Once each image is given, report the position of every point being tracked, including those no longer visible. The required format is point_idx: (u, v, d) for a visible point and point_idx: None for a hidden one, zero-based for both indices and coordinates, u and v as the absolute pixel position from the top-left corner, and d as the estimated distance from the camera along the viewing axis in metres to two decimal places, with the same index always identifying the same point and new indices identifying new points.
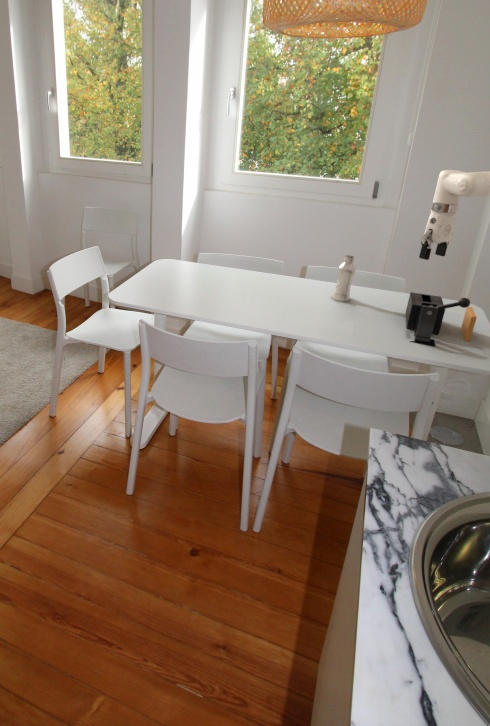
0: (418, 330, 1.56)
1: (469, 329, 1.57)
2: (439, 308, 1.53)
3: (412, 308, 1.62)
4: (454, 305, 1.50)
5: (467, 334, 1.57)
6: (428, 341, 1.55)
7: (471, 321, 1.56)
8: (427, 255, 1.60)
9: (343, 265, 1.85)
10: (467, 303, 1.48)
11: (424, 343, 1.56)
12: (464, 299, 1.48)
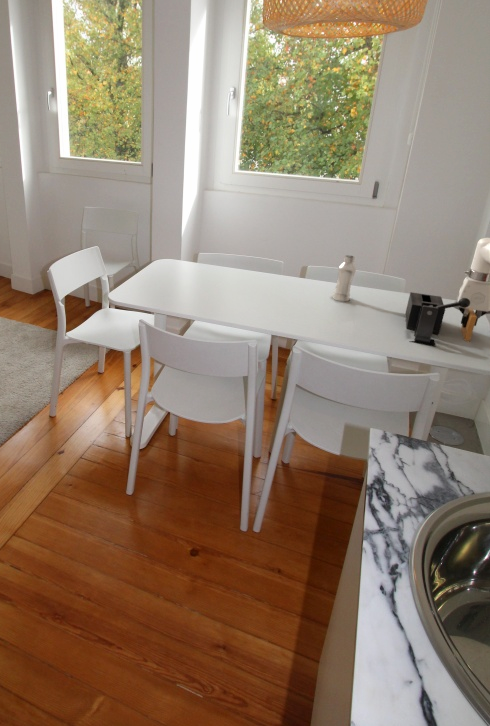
0: (418, 330, 1.56)
1: (469, 329, 1.57)
2: (439, 308, 1.53)
3: (412, 308, 1.62)
4: (454, 305, 1.50)
5: (467, 334, 1.57)
6: (428, 341, 1.55)
7: (471, 321, 1.56)
8: (464, 322, 1.60)
9: (343, 265, 1.85)
10: (467, 303, 1.48)
11: (424, 343, 1.56)
12: (464, 299, 1.48)
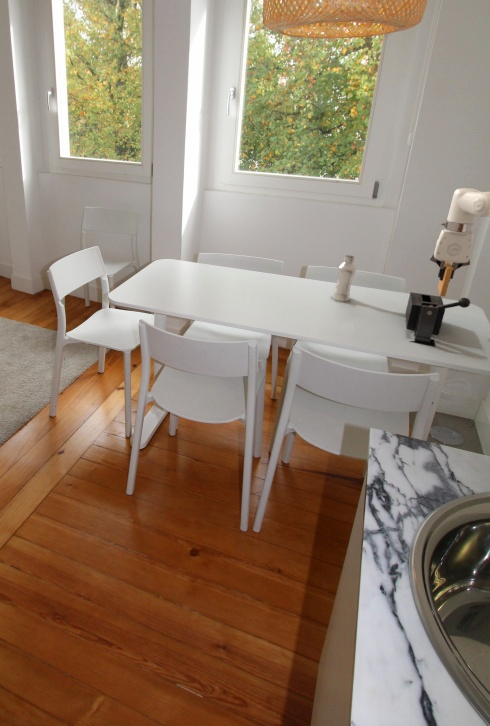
0: (418, 330, 1.56)
1: (445, 281, 1.56)
2: (439, 308, 1.53)
3: (412, 308, 1.62)
4: (454, 305, 1.50)
5: (443, 286, 1.57)
6: (428, 341, 1.55)
7: (447, 273, 1.55)
8: (441, 275, 1.60)
9: (343, 265, 1.85)
10: (467, 303, 1.48)
11: (424, 343, 1.56)
12: (464, 299, 1.48)
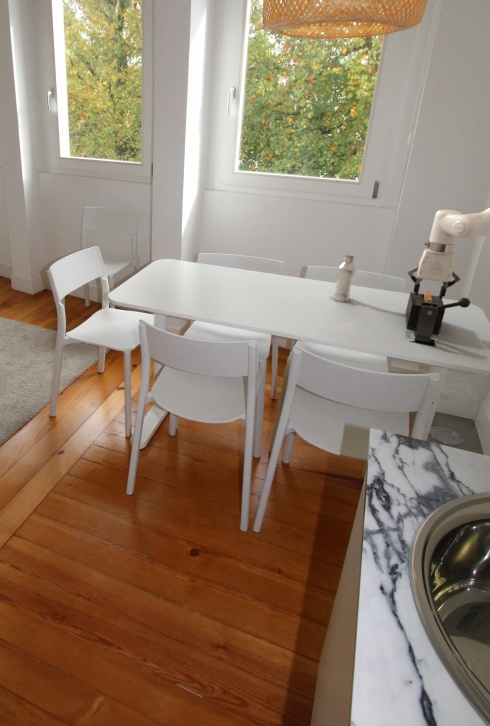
0: (418, 330, 1.56)
1: None
2: (439, 308, 1.53)
3: (412, 308, 1.62)
4: (454, 305, 1.50)
5: None
6: (428, 341, 1.55)
7: None
8: (416, 291, 1.65)
9: (343, 265, 1.85)
10: (467, 303, 1.48)
11: (424, 343, 1.56)
12: (464, 299, 1.48)
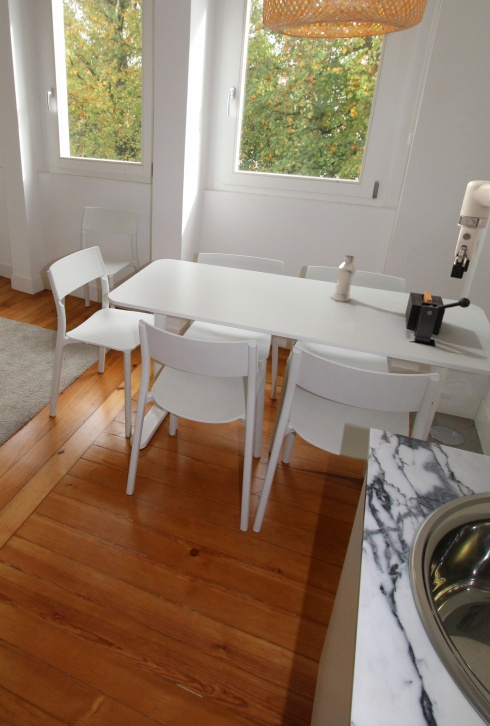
0: (418, 330, 1.56)
1: None
2: (439, 308, 1.53)
3: (412, 308, 1.62)
4: (454, 305, 1.50)
5: None
6: (428, 341, 1.55)
7: None
8: (461, 274, 1.46)
9: (343, 265, 1.85)
10: (467, 303, 1.48)
11: (424, 343, 1.56)
12: (464, 299, 1.48)
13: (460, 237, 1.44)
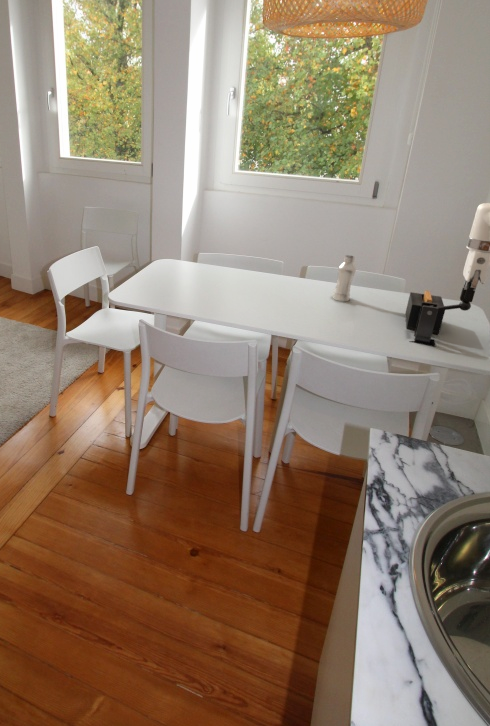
0: (418, 330, 1.56)
1: None
2: (439, 309, 1.53)
3: (412, 308, 1.62)
4: (454, 307, 1.51)
5: None
6: (428, 341, 1.55)
7: None
8: (471, 297, 1.48)
9: (343, 265, 1.85)
10: (468, 306, 1.48)
11: (424, 343, 1.56)
12: (465, 302, 1.49)
13: (474, 261, 1.41)
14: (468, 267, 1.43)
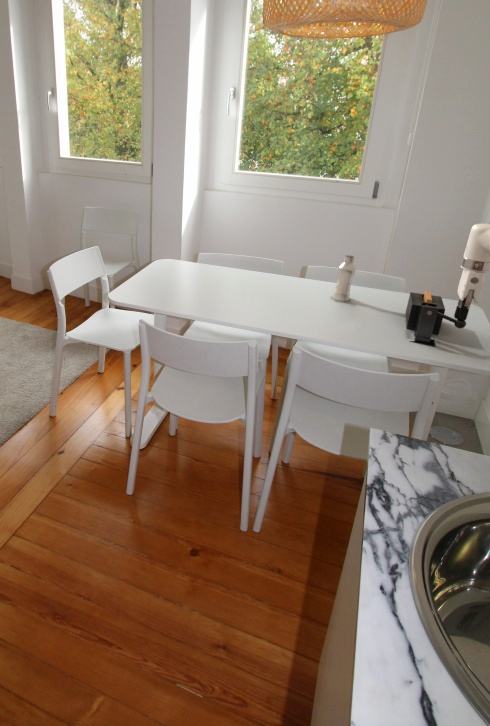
0: (418, 330, 1.56)
1: None
2: (438, 314, 1.53)
3: (412, 308, 1.62)
4: (451, 320, 1.52)
5: None
6: (428, 341, 1.55)
7: None
8: (465, 315, 1.50)
9: (343, 265, 1.85)
10: (463, 325, 1.51)
11: (424, 343, 1.56)
12: (463, 321, 1.51)
13: (467, 281, 1.43)
14: (462, 286, 1.46)
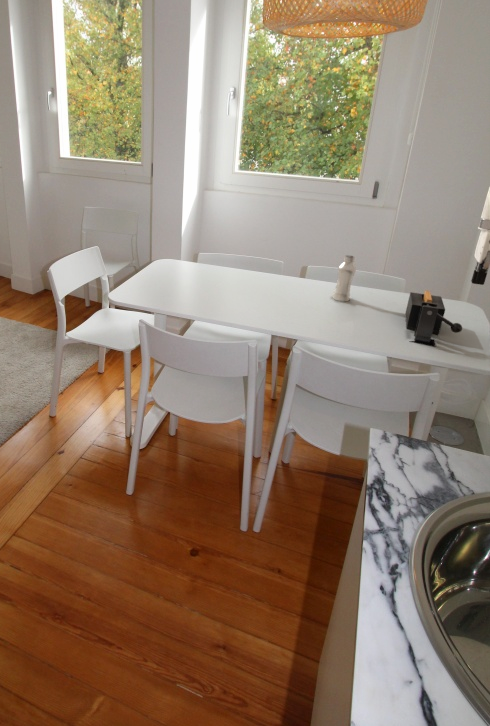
0: (418, 330, 1.56)
1: None
2: (437, 315, 1.54)
3: (412, 308, 1.62)
4: (448, 323, 1.53)
5: None
6: (428, 341, 1.55)
7: None
8: (483, 280, 1.45)
9: (343, 265, 1.85)
10: (458, 330, 1.51)
11: (424, 343, 1.56)
12: (460, 326, 1.51)
13: (486, 242, 1.38)
14: (480, 248, 1.40)
